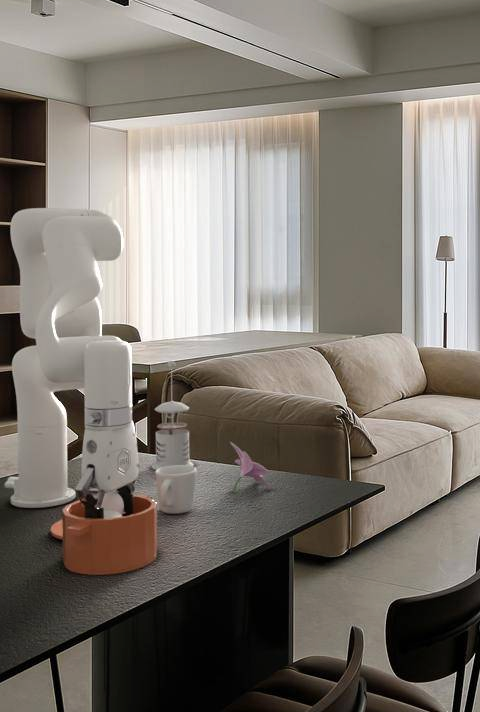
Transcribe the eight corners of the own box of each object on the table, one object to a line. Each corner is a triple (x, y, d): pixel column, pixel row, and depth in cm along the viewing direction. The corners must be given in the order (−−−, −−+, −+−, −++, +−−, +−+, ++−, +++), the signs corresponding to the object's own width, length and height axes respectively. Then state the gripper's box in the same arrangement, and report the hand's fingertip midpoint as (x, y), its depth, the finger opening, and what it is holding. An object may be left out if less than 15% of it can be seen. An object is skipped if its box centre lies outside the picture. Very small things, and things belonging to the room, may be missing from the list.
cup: (183, 522, 159) (182, 479, 159) (142, 520, 160) (142, 477, 160) (203, 506, 169) (202, 465, 169) (165, 504, 171) (164, 464, 171)
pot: (33, 575, 132) (32, 520, 132) (107, 535, 151) (106, 487, 151) (114, 585, 127) (114, 528, 127) (180, 543, 146) (180, 494, 146)
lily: (268, 503, 174) (284, 458, 177) (214, 482, 173) (232, 437, 177) (261, 506, 185) (276, 464, 189) (210, 486, 184) (227, 444, 188)
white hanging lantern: (153, 472, 197) (152, 364, 197) (149, 461, 209) (148, 358, 208) (196, 469, 200) (194, 362, 200) (189, 458, 211) (188, 357, 211)
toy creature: (129, 525, 143) (128, 488, 143) (117, 541, 135) (117, 501, 135) (101, 525, 143) (101, 488, 143) (88, 541, 135) (88, 501, 135)
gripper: (97, 428, 130) (98, 544, 130) (156, 409, 146) (157, 511, 146) (55, 425, 132) (56, 538, 132) (118, 406, 149) (119, 507, 149)
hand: (109, 523), depth 139 cm, fingers closed on toy creature, 7 cm apart
